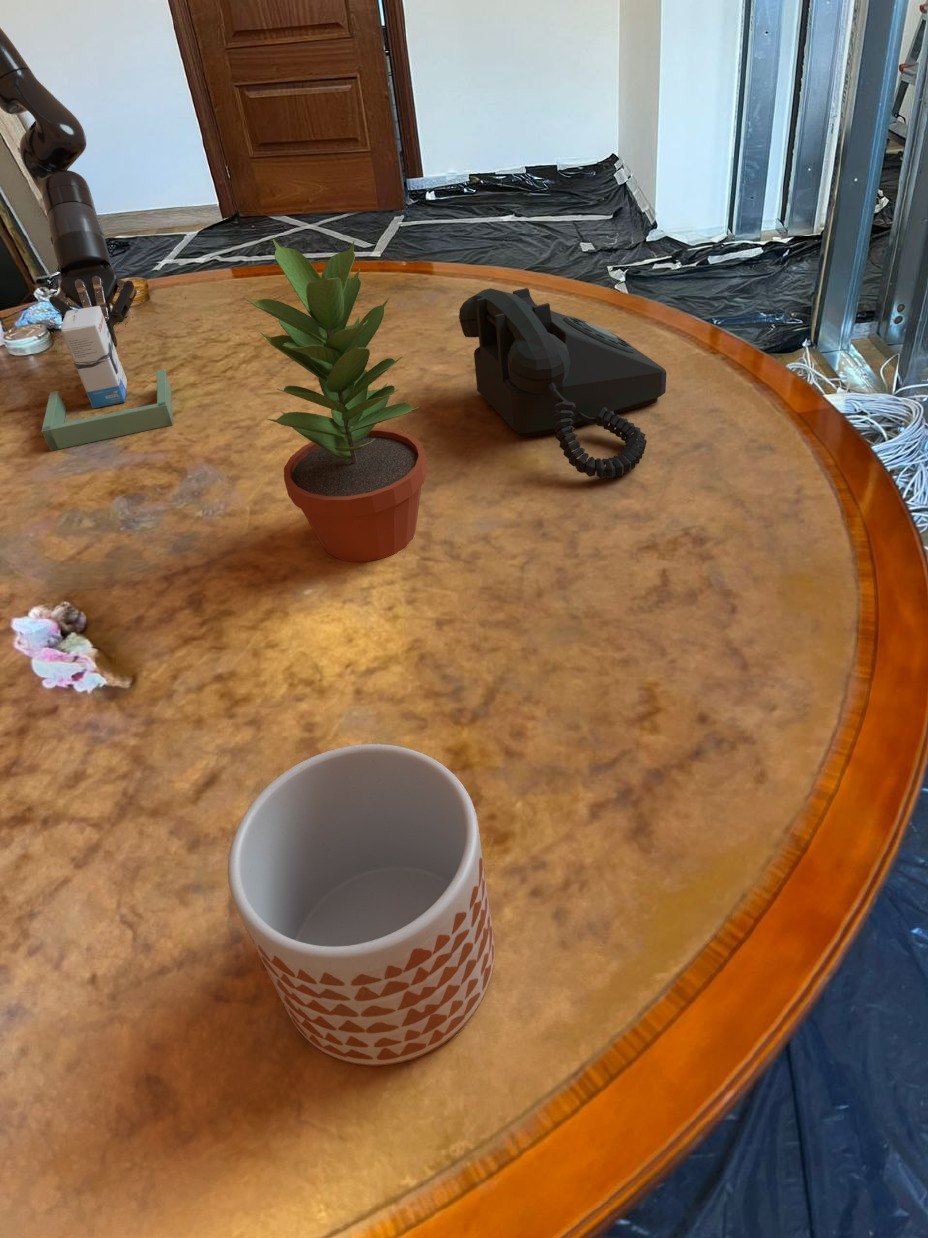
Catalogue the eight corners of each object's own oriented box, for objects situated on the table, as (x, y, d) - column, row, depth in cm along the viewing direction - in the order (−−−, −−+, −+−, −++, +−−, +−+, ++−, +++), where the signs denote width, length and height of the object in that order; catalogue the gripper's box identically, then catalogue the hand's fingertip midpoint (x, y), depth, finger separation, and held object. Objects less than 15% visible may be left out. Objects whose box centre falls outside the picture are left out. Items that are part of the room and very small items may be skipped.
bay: (58, 411, 125) (49, 391, 123) (171, 387, 127) (164, 368, 126) (50, 451, 115) (41, 431, 113) (173, 424, 118) (166, 404, 116)
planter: (293, 875, 60) (245, 754, 52) (487, 854, 59) (470, 730, 51) (269, 1081, 49) (204, 970, 41) (505, 1057, 49) (487, 941, 41)
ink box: (125, 402, 125) (95, 323, 117) (91, 409, 124) (59, 330, 117) (129, 380, 131) (100, 303, 124) (96, 386, 131) (65, 309, 123)
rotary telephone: (732, 449, 98) (747, 320, 88) (560, 498, 93) (557, 368, 84) (599, 350, 123) (599, 240, 113) (458, 385, 118) (446, 274, 109)
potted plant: (415, 582, 84) (363, 272, 65) (279, 567, 89) (192, 271, 70) (460, 501, 95) (426, 214, 76) (336, 491, 99) (274, 217, 80)
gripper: (130, 248, 134) (158, 351, 133) (43, 264, 132) (71, 369, 131) (117, 220, 127) (146, 329, 126) (25, 238, 125) (54, 348, 124)
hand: (108, 349), depth 128 cm, fingers closed
